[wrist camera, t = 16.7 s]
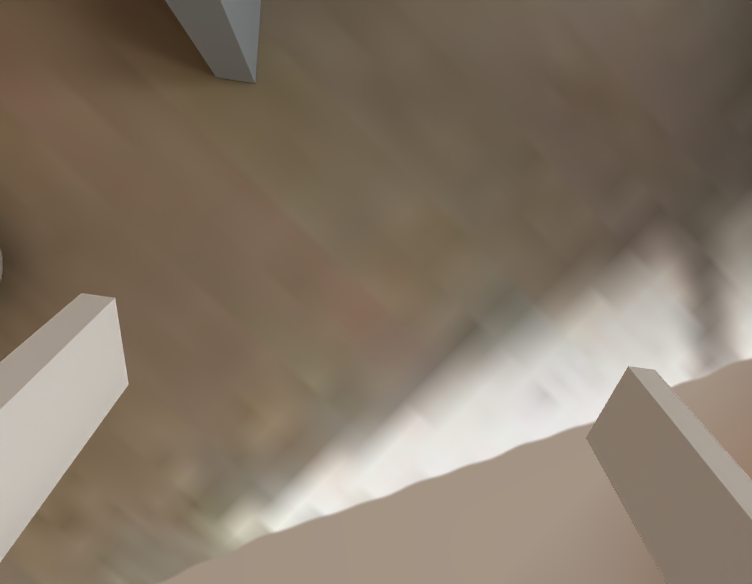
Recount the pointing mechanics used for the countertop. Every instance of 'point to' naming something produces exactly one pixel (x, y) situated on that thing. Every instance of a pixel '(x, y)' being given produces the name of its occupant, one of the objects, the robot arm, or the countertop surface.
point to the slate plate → (223, 34)
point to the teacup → (1, 264)
